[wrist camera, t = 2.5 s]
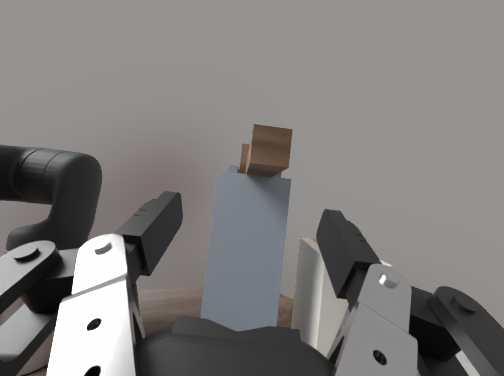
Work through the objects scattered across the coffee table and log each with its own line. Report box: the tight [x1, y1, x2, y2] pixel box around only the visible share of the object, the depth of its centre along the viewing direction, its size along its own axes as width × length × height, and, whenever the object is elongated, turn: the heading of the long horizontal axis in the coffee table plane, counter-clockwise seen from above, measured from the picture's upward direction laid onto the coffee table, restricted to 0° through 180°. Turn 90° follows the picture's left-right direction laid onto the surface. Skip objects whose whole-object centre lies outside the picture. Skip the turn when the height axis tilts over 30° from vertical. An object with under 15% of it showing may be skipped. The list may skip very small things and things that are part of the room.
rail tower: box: [200, 165, 291, 331], centre depth 31 cm, size 13×10×33 cm
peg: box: [239, 124, 292, 177], centre depth 27 cm, size 20×6×6 cm, turn 4°
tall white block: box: [291, 237, 393, 357], centre depth 31 cm, size 13×9×22 cm
